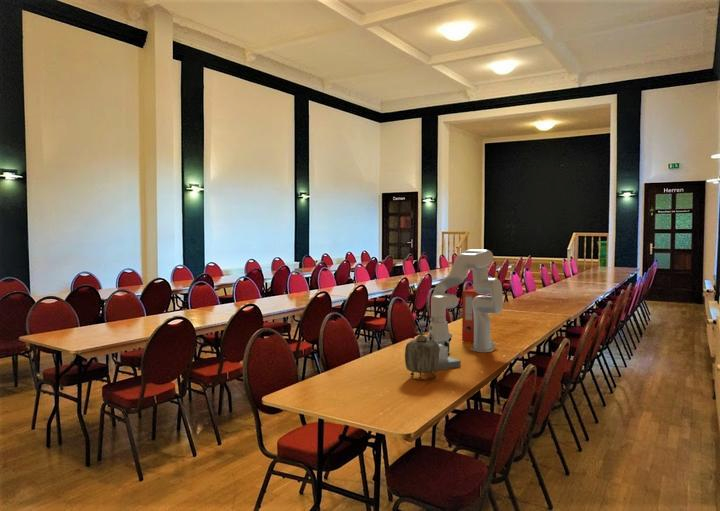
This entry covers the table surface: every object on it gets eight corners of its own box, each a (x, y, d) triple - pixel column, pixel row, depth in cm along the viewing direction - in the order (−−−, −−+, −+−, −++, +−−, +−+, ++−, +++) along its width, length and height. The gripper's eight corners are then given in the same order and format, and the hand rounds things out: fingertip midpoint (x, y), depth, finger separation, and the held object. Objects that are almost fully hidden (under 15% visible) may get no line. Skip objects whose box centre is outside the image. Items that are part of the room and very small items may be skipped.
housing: (447, 360, 268) (447, 344, 268) (439, 361, 266) (439, 345, 265) (437, 356, 276) (437, 341, 276) (429, 357, 274) (429, 342, 273)
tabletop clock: (438, 377, 247) (438, 325, 246) (433, 383, 239) (433, 328, 238) (409, 374, 253) (409, 323, 252) (403, 379, 245) (403, 326, 244)
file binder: (486, 338, 334) (486, 288, 333) (474, 343, 321) (474, 291, 319) (474, 337, 339) (474, 288, 338) (462, 341, 326) (462, 290, 324)
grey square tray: (441, 359, 282) (441, 354, 282) (460, 366, 268) (460, 360, 267) (416, 363, 274) (416, 357, 274) (435, 370, 260) (435, 364, 260)
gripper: (429, 322, 262) (429, 356, 263) (456, 318, 271) (456, 351, 272) (420, 320, 269) (420, 353, 270) (447, 316, 277) (447, 348, 278)
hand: (438, 352), depth 271 cm, fingers open, 9 cm apart
